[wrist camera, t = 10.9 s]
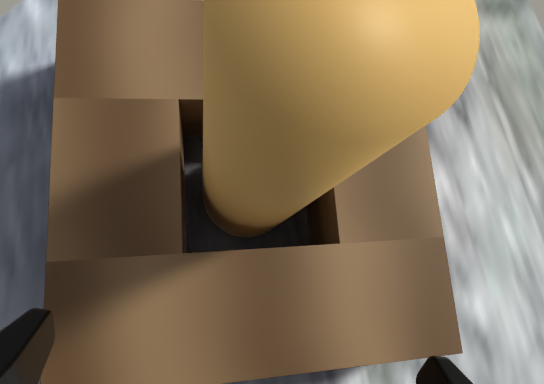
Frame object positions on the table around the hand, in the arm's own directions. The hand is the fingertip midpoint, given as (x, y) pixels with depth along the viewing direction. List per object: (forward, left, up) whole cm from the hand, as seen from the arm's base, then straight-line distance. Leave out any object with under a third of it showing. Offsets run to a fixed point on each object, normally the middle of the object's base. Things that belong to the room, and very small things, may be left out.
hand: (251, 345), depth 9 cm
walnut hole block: (+1, +5, -8) cm, 9 cm away
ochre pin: (+1, +5, -8) cm, 9 cm away
